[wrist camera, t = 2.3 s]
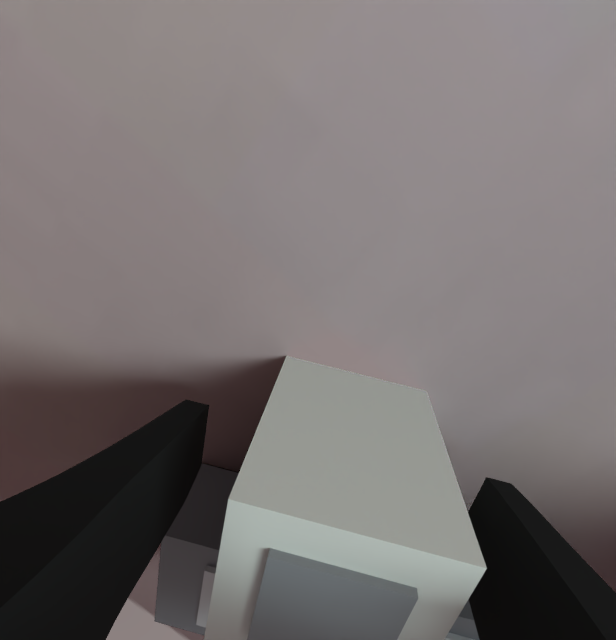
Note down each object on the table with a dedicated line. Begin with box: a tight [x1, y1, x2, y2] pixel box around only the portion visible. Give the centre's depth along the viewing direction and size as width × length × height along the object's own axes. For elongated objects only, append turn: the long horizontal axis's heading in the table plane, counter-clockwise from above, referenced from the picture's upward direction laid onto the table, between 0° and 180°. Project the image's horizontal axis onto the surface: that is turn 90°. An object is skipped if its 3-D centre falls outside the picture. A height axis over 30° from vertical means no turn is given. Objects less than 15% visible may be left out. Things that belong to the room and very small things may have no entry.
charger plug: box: [204, 356, 487, 640], centre depth 8 cm, size 4×4×5 cm
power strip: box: [155, 463, 479, 640], centre depth 11 cm, size 15×4×3 cm, turn 78°
